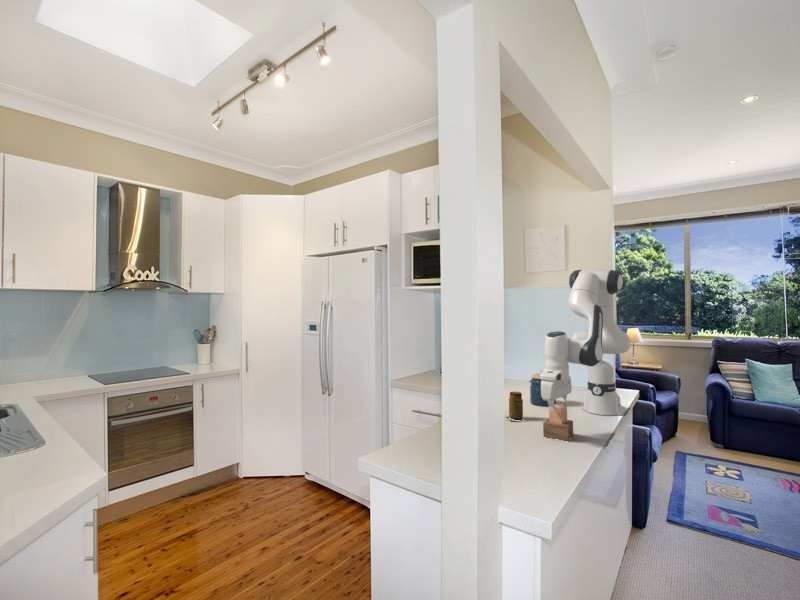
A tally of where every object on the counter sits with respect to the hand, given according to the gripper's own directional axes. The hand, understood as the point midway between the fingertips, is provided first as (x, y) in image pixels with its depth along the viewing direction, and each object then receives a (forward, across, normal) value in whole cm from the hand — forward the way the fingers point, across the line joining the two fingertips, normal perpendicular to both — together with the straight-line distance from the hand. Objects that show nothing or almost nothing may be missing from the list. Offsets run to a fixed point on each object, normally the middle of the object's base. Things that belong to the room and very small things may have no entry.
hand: (557, 408), depth 154 cm
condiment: (+11, -10, -24) cm, 28 cm away
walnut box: (+11, 0, 0) cm, 11 cm away
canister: (+12, -46, -28) cm, 55 cm away
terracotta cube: (+5, +1, 0) cm, 5 cm away
